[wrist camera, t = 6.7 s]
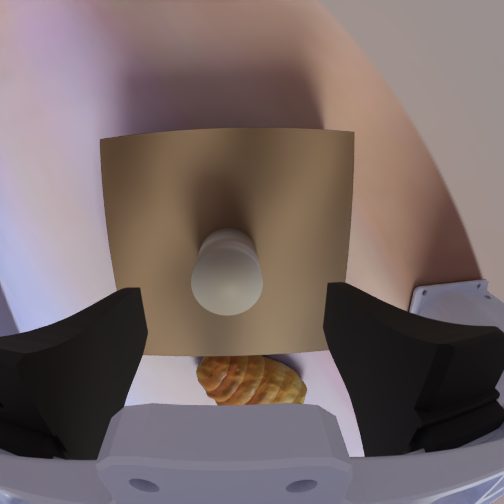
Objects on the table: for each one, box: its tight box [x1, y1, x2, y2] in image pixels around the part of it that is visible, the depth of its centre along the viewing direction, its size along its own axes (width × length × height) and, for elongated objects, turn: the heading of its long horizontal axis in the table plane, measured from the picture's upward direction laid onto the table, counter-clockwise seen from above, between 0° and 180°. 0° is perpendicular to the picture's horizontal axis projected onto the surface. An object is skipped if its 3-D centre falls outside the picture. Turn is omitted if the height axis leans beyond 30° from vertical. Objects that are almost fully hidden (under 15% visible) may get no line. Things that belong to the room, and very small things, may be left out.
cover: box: [100, 128, 354, 356], centre depth 17 cm, size 13×13×8 cm
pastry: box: [196, 355, 307, 406], centre depth 24 cm, size 9×7×4 cm
